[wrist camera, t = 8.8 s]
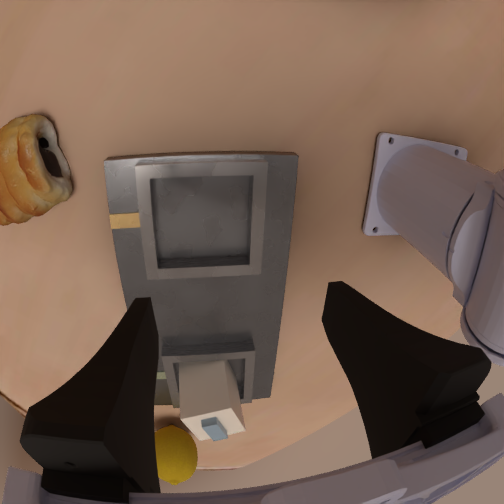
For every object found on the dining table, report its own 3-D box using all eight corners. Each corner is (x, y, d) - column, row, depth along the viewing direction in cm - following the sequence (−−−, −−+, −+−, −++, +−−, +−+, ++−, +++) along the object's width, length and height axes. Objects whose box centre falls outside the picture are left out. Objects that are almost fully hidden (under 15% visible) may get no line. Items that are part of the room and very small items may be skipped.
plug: (222, 350, 26) (232, 415, 21) (235, 376, 28) (247, 437, 23) (178, 361, 26) (180, 426, 21) (195, 387, 28) (200, 447, 23)
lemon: (153, 409, 31) (153, 473, 24) (201, 417, 33) (207, 479, 26) (144, 431, 33) (144, 488, 26) (187, 438, 35) (192, 493, 28)
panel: (293, 152, 20) (304, 159, 18) (268, 389, 32) (272, 406, 30) (107, 157, 18) (98, 165, 16) (154, 397, 30) (153, 414, 28)
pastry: (-5, 235, 19) (-29, 259, 16) (-38, 161, 16) (-67, 176, 12) (84, 189, 19) (64, 210, 16) (49, 99, 16) (22, 104, 12)
